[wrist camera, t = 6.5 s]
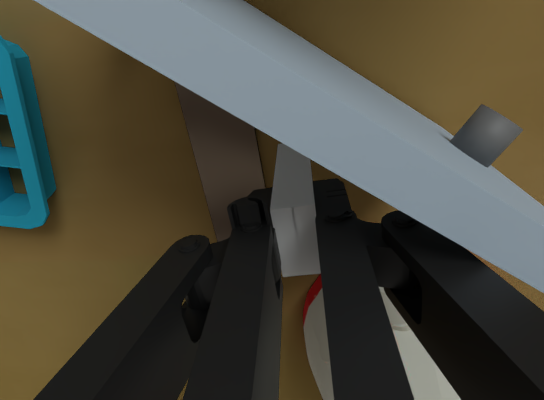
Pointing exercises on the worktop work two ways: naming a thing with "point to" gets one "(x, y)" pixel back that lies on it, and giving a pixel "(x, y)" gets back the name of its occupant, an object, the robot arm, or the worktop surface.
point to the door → (334, 118)
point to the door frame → (221, 156)
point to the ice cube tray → (23, 144)
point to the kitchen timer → (417, 362)
